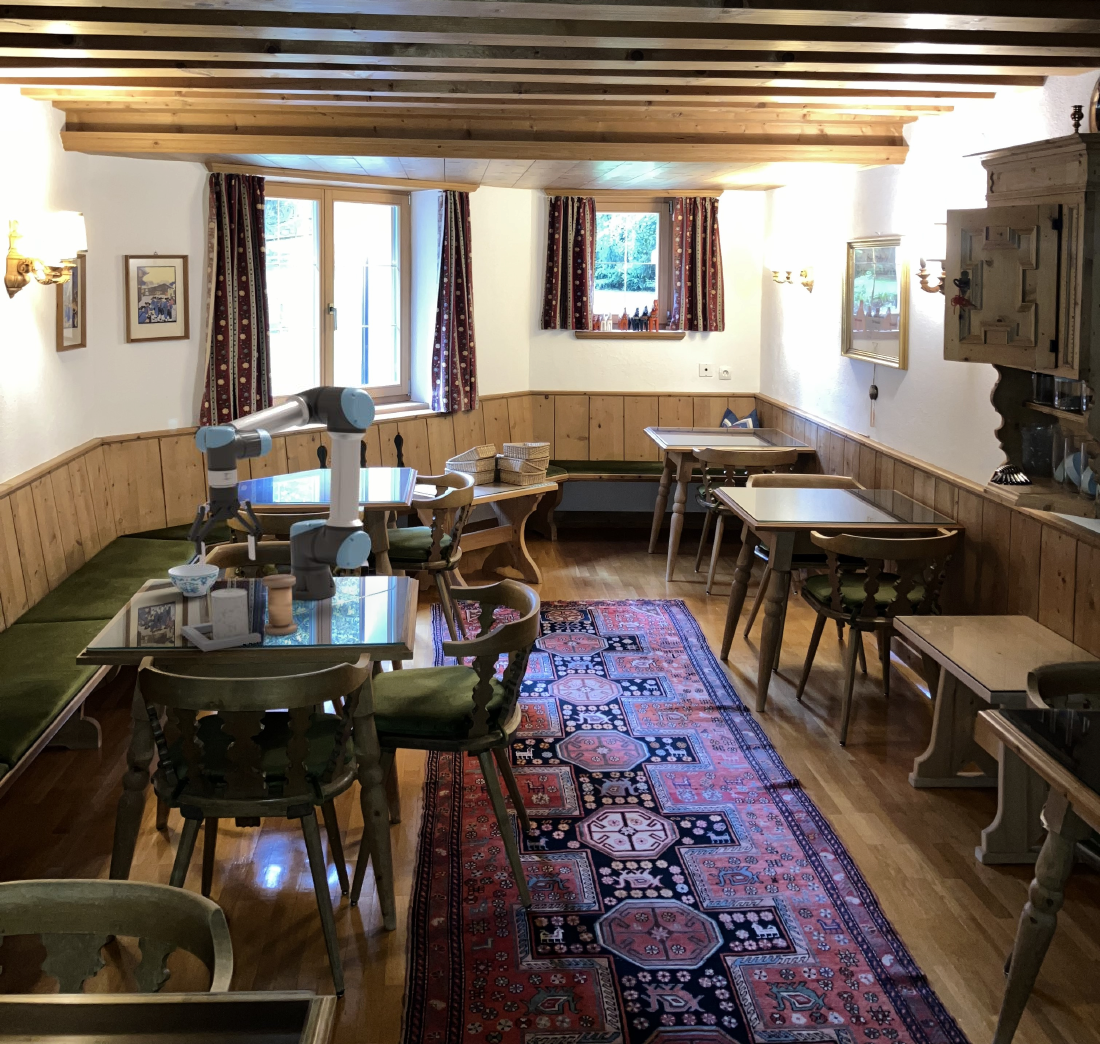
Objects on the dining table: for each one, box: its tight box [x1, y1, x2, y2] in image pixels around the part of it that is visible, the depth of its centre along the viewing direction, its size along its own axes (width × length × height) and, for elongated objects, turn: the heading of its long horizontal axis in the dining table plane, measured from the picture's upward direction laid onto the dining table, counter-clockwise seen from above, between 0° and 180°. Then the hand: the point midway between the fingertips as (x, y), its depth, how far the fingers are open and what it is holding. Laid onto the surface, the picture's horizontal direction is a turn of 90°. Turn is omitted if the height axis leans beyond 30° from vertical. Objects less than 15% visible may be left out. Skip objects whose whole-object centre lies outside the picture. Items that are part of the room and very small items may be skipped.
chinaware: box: [167, 563, 220, 598], centre depth 360 cm, size 15×15×8 cm
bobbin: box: [261, 573, 298, 636], centre depth 321 cm, size 9×9×15 cm
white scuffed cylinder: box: [210, 587, 250, 640], centre depth 316 cm, size 10×10×12 cm
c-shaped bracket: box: [180, 621, 262, 653], centre depth 315 cm, size 19×16×2 cm
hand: (227, 562), depth 313 cm, fingers open, 13 cm apart
